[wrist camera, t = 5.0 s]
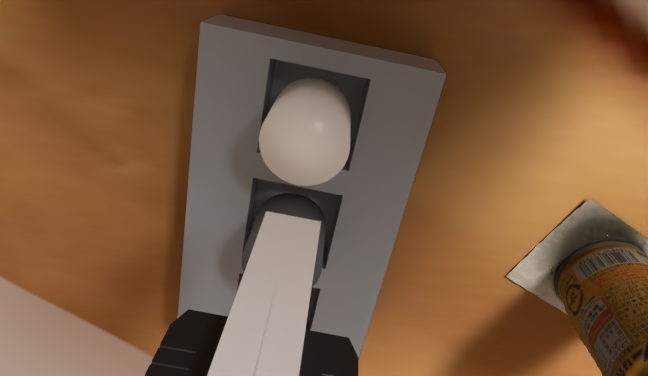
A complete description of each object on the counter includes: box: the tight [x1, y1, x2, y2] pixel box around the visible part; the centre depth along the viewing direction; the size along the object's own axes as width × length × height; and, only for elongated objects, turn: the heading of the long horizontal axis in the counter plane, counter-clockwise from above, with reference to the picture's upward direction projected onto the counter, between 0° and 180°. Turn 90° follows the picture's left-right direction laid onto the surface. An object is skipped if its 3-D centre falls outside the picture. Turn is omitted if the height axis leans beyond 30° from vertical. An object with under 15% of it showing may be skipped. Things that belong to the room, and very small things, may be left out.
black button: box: [241, 193, 326, 287], centre depth 25 cm, size 4×4×4 cm
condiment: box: [506, 199, 648, 376], centre depth 26 cm, size 7×8×12 cm
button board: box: [178, 14, 447, 360], centre depth 29 cm, size 20×12×4 cm, turn 169°
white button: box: [259, 78, 351, 186], centre depth 23 cm, size 4×4×4 cm
